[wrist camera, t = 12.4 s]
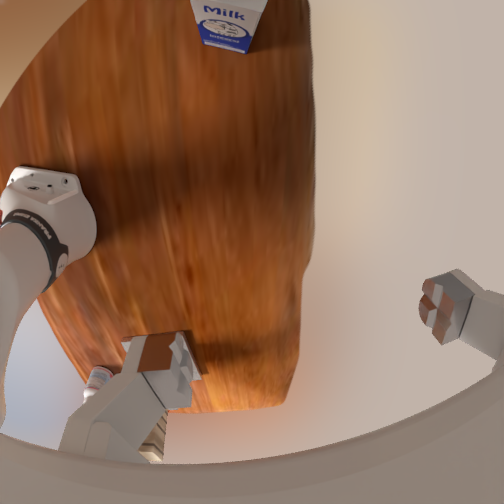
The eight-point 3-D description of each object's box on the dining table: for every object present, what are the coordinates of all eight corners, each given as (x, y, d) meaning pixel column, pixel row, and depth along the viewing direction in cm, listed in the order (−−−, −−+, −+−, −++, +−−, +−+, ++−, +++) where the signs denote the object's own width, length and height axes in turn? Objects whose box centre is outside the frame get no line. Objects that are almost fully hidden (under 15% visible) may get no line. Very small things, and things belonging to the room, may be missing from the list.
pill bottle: (113, 383, 61) (104, 418, 51) (92, 375, 60) (80, 409, 50) (115, 370, 59) (104, 406, 49) (93, 361, 57) (79, 396, 47)
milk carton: (260, 19, 32) (287, -44, 14) (247, 54, 35) (265, 4, 17) (215, 8, 31) (211, -60, 13) (201, 43, 33) (184, -12, 15)
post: (152, 390, 52) (141, 460, 36) (144, 378, 50) (130, 450, 35) (171, 389, 52) (163, 461, 37) (163, 376, 50) (153, 451, 35)
